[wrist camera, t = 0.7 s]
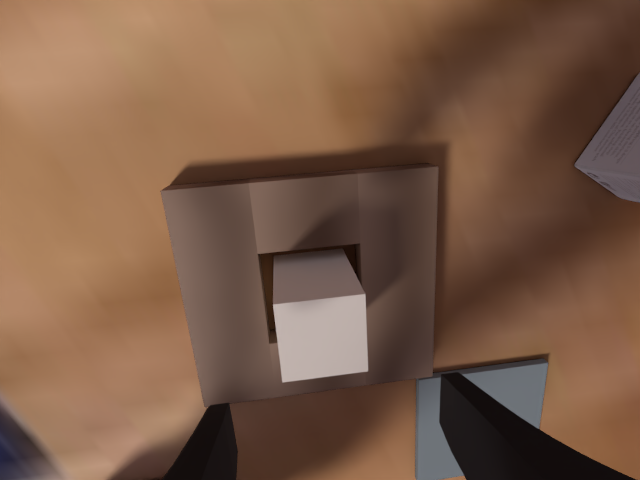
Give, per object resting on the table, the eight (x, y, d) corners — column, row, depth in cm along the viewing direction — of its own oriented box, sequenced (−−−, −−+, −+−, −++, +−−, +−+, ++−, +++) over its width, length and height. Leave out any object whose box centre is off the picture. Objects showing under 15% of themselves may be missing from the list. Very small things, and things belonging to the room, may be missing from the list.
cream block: (280, 317, 23) (282, 382, 17) (273, 255, 22) (272, 304, 16) (345, 309, 23) (368, 371, 18) (342, 248, 22) (365, 294, 17)
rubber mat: (415, 476, 28) (417, 482, 28) (416, 375, 25) (418, 380, 25) (529, 458, 29) (534, 464, 29) (543, 358, 26) (548, 362, 26)
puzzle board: (208, 390, 24) (204, 407, 23) (168, 185, 20) (160, 190, 19) (423, 361, 25) (432, 376, 24) (427, 163, 21) (438, 166, 20)
